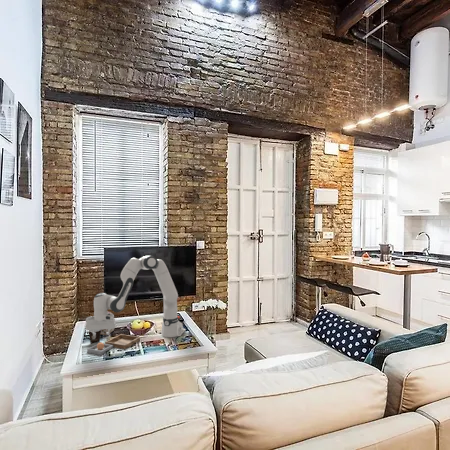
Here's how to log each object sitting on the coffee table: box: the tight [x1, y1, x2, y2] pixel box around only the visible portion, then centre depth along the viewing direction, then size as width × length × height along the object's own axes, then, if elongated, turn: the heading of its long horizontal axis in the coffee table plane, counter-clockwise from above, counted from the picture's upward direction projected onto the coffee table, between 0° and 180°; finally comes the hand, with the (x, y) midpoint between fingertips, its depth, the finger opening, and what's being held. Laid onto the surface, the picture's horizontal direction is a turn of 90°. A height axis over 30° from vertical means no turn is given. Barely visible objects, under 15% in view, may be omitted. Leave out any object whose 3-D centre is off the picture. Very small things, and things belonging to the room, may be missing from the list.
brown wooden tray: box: [104, 333, 141, 350], centre depth 245 cm, size 18×18×4 cm
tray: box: [86, 342, 114, 356], centre depth 233 cm, size 12×12×3 cm
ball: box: [96, 341, 105, 351], centre depth 233 cm, size 5×5×5 cm
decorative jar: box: [100, 311, 115, 336], centre depth 270 cm, size 12×12×18 cm
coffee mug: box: [83, 330, 101, 345], centre depth 248 cm, size 12×9×10 cm
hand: (101, 335), depth 233 cm, fingers open, 8 cm apart
